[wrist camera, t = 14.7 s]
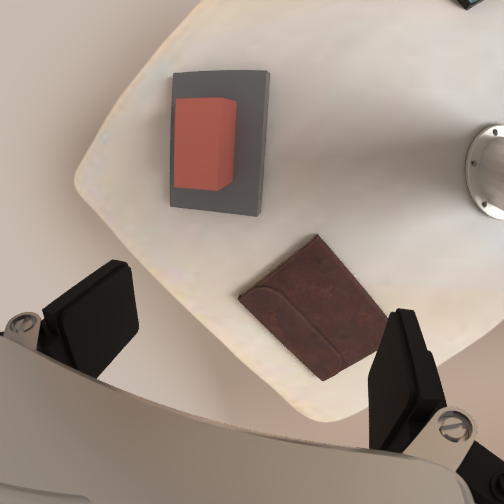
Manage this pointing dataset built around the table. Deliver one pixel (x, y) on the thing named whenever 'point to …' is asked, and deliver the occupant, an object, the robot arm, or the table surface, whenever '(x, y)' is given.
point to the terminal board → (246, 138)
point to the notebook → (318, 310)
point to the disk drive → (469, 3)
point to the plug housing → (204, 143)
